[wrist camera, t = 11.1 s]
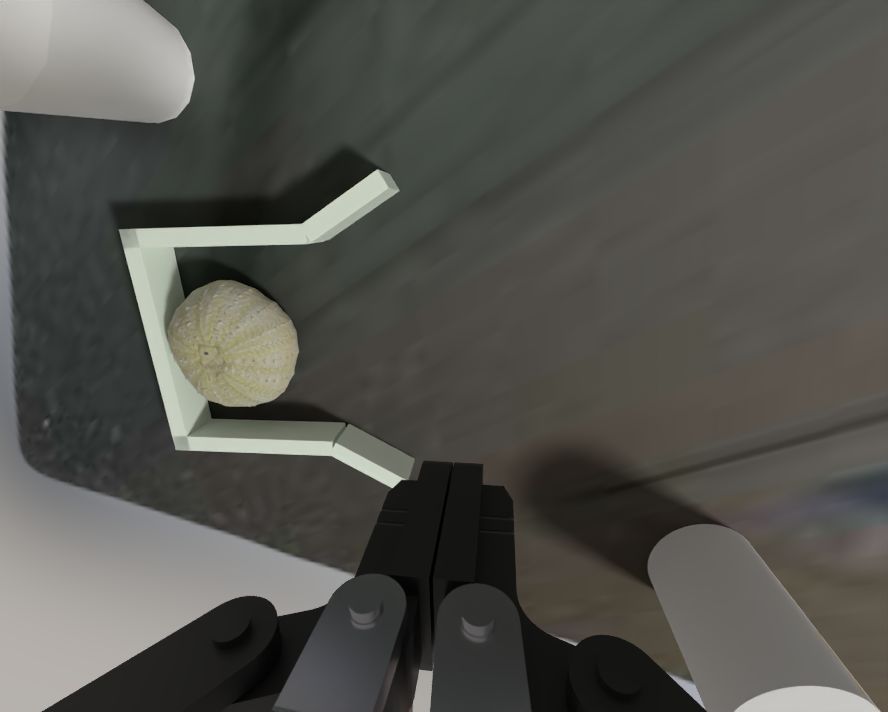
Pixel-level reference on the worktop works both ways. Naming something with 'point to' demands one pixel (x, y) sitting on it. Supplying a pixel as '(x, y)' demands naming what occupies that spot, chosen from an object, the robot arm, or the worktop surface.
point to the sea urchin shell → (233, 344)
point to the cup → (745, 629)
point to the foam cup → (92, 60)
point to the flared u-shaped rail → (190, 410)
